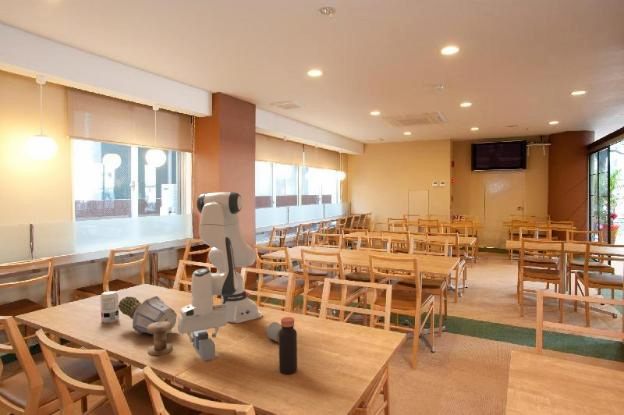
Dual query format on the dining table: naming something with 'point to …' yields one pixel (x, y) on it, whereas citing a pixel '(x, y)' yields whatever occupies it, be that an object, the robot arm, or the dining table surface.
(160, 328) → the wooden door knob
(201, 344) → the gray stepped block
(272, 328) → the ceramic mug
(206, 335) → the dark gray rectangular block
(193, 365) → the dining table surface
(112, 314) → the supplement can
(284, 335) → the bottle
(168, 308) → the potted plant
